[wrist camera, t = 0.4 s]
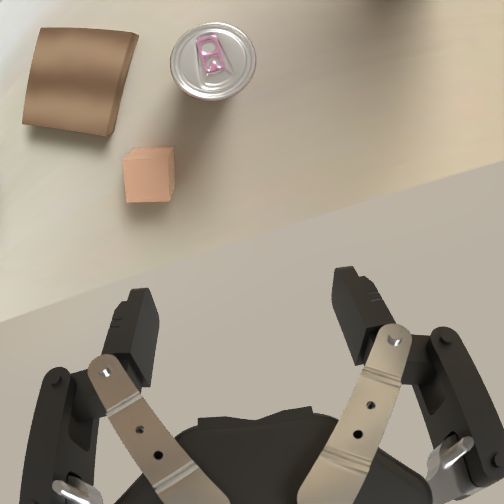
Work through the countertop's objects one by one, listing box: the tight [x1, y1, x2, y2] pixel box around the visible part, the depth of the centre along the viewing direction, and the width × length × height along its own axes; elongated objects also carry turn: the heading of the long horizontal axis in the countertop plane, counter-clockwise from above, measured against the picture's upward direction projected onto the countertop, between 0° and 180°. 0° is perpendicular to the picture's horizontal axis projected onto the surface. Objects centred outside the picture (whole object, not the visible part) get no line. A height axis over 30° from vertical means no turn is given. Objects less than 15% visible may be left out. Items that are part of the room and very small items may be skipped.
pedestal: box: [22, 28, 139, 137], centre depth 27 cm, size 12×12×3 cm
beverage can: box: [170, 23, 256, 101], centre depth 24 cm, size 6×6×15 cm
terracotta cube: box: [122, 147, 175, 203], centre depth 33 cm, size 5×5×5 cm
